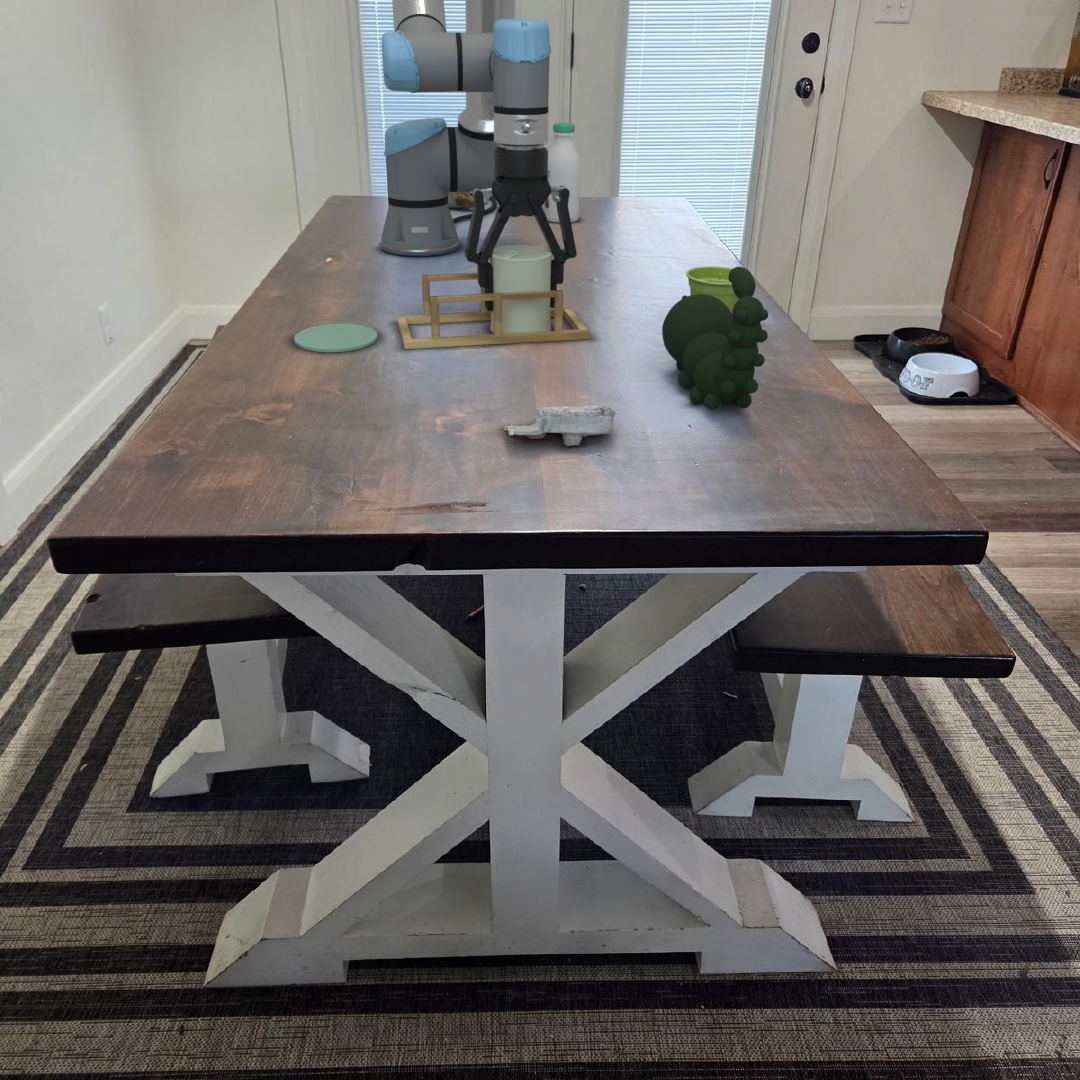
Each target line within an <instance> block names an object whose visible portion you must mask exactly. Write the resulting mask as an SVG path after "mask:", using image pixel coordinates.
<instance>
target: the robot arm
mask: <svg viewBox="0 0 1080 1080" xmlns="http://www.w3.org/2000/svg"><path fill="white" fill-rule="evenodd" d="M444 1H445V0H391V2H392V5H391V6H392V19H393V31H389V32H384V33H383V34H382V36H381V54H382V55H381V56H382V71H383V73H382V74H383V84H384V86H385V87H386V89H388V90H390V91H393V92H405V93H406V92H407V93H408V92H409V93H411V94H418V93H465V108H464V110H462V111H461V112H460V113H459V114H458V116H457V126H447V125H448V123H447V122H446V120H445V119H444V118H443V117H432V118H431V117H429V118H428V117H427V118H418V119H412V120H406V121H402V122H398V123H394V124H393V125H390V126H389V127H388V128H387V129H386V130H385V133H384V151H383V156H384V157H385V171H386V189H387V206H388V207H387V212H386V216H385V220H384V224H383V229H382V233H381V240H380V243H381V244H380V245H381V249H382V250H383V251H384V252H385V253H388V254H392V255H397V256H406V257H430V256H441V255H446V254H450V253H453V252H455V251H457V250H458V249H459V248H460V241H459V239H460V238H459V235H458V232H457V229H456V225H455V223H457V222H460V221H464V220H469V219H470V223H469V227H468V228H469V229H468V234H467V238H466V243H465V249H464V253H463V255H464V257H465V259H466V260H467V262H469V263H473V264H476V266H477V267H476V268H477V270H476V271H477V272H476V273H477V274H478V279H477V284H478V286H479V287H480V288H481V287H485V294H486V293H493V267H492V265H491V264H490V256H491V254H492V252H493V250H494V248H496V246H497V243H498V241H499V239H500V237H501V235H502V232H503V230H504V229H505V226H506V224H507V223H508V221H509V220H510V218H519V217H522V216H523V217H534V219H535V221H536V223H537V225H538V227H539V229H540V232H541V234H542V235H543V238H544V240H545V242H546V244H547V246H548V249H549V250H550V251H551V252H552V257H553V259H551V286H550V291H552V290H558V285H562V284H563V282H564V279H565V277H564V275H565V274H564V273H565V268H564V267H565V264H566V262H567V261H568V260H570V259H575V258H576V257H577V254H578V253H577V246H576V242H575V237H574V231H573V225H572V222H571V220H570V214H569V209H568V201H569V194H570V192H569V190H568V189H567V188H566V187H564V186H559V187H553V186H550V184H549V182H548V155H549V150H548V149H547V147H546V146H545V145H546V144H547V143H549V94H550V92H549V91H550V90H549V89H550V60H551V53H552V46H551V45H550V44H551V41H550V40H551V39H550V26H549V24H548V22H547V21H545V20H544V19H534V18H530V19H529V18H523V19H522V18H516V0H465V32H447V22H446V21H447V20H446V11H445V2H444ZM448 192H472V196H473V203H474V207H472V212H471V213H468V214H464V215H459V216H456V217H454V218H453V217H452V214H451V211H450V208H449V206H448ZM549 195H552V198H553V201H554V202H556V206H557V212H558V217H559V222H560V223H559V222H558V223H559V227H560V231H561V237H562V243H563V249H562V248H561V246H560V244H559V243H558V240H557V238H556V236H555V234H554V233H555V232H553V229H552V227H551V225H550V223H549V221H548V220H547V218H546V215H545V210H544V209H543V206H544V205H545V201H546V199H547V198H548V196H549ZM490 200H491V201H492V205H491V206H489V207H488V208H486V207H485V206H486V205H488V204H489V203H490ZM497 205H499V206H498V207H497ZM485 208H486V209H485ZM496 208H497V210H496V212H495V216H494V218H493V221H492V223H491V224H490V226H489V229H488V232H487V234H486V235H485V238H484V240H483V242H482V245H481V246H480V249H479V251H478V245H479V241H480V235H481V230H482V226H483V220H484V215H487V214H489V213H491V212H493V211H494V210H495V209H496ZM477 251H478V252H477ZM485 307H486V309H487V310H488V311H493V300H492V301H485ZM550 308H555V298H550Z"/></svg>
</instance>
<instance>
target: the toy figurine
mask: <svg viewBox="0 0 1080 1080" xmlns="http://www.w3.org/2000/svg"><path fill="white" fill-rule="evenodd" d="M728 278H729V281H730V282H731V284H732V288H733V291H734V293H735V295H736V296H737V297H738V298H739V300H738V301H737V302H736V303H735V305H734V307H733V310H732V313H731V311H730V309H729V308H728V307H727V305H726V304H725V303H723V302H722V301H721V300H719V299H718V298H716V297H713V296H711V295H707V294H694V295H691V294H690V295H682V297H681V299H680V300H678V301H677V302H675V304H674V305H673V306H672V307H671V308H670V310H669V311H668V312H667V314H666V316H665V317H664V320H663V323H662V326H661V331H662V332H661V334H662V335H661V336H662V342H663V345H664V347H665V350H666V351H667V353H668V354H669V356H670V357H671V358H672V359H673V360H674V361H675V365H676V368H677V371H679V373H678V374H677V383H678V386H680V387H681V388H683V389H685V390H690V393H689V400H690V402H691V403H692V404H694V405H699V404H704V406H705V407H706V408H707V409H708V410H711V411H712V410H713V411H716V410H718V409H719V408H720V407H721V405H722V403H734V405H735V406H736V407H737V408H739V409H747V408H749V407H750V405H751V404H752V395H751V394H754V393H756V392H757V391H758V389H759V383H758V382H757V379H755V378H754V376H755V372H756V367H757V368H758V367H762V366H763V365H764V364H765V361H766V359H765V356H764V355H763V354H762V353H759V347H758V344H759V343H763V342H766V341H767V340H768V337H769V335H768V331H767V330H765V329H763V326H762V323H761V322H763V321H766V320H767V319H768V318H769V312H768V310H767V309H766V308H765V307H764V305H763V303H762V302H761V301H760V300H759V299H758V298H757V297H755V296H754V295H755V292H756V280H755V277H754V276H753V274H752V273H751V272H750V271H749V270H748V269H747V268H746V267H743V266H735V267H734V268H733V267H732V270H731V271H730V273H729V277H728Z"/></svg>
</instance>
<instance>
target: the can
mask: <svg viewBox="0 0 1080 1080" xmlns="http://www.w3.org/2000/svg"><path fill="white" fill-rule="evenodd" d="M552 257H553V255H552V252H551V251H550V249H549V248H546V247H542V246H537V245H529V244H511V245H510V244H509V245H501V246H498V247H495V248H494V250H493V252H492V254H491V256H490V258H489V262H490V264H491V265H492V267H493V293H508V292H530V291H550V286H551V260H552ZM550 308H551V307H550V298H534V299H513V300H502V334H503V333H522V332H541V331H552V326H551V317H550ZM489 330H490V332H492V334H494V308H493V311H491V320H490V329H489Z"/></svg>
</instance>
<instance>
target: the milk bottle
mask: <svg viewBox="0 0 1080 1080" xmlns="http://www.w3.org/2000/svg"><path fill="white" fill-rule="evenodd" d="M575 129H576V126H575V124H574V123H573V122H572V123H571V122H556V123H553V125H552V131H553V133H552V135H553V142H552V145H551V148H550V151H548V182H549V184H550V186H553V187H559V186H564V187H566V188H567V189H568V190H569V192H570V194H569V201H568V209H569V214H570V220H571V223H574V222H578V221H579V219H580V202H581V201H580V200H581V199H580V197H581V161H580V157H579V154H578V151H577V149H576V146H575V140H574V136H575ZM544 213H545V215H546V218H547V220H548V222H552V223H559V224H560V222H559V217H558V212H557V206H556V202H554V201H553V198H552V195H549V196H548V198H547V199H546V201H545V202H544Z"/></svg>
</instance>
